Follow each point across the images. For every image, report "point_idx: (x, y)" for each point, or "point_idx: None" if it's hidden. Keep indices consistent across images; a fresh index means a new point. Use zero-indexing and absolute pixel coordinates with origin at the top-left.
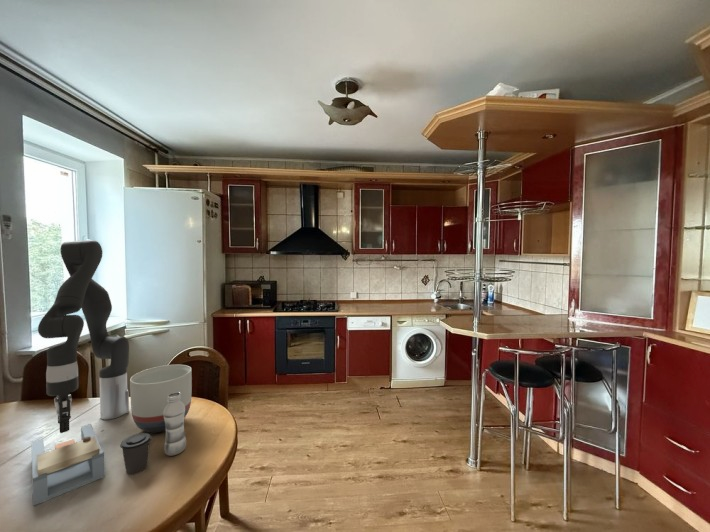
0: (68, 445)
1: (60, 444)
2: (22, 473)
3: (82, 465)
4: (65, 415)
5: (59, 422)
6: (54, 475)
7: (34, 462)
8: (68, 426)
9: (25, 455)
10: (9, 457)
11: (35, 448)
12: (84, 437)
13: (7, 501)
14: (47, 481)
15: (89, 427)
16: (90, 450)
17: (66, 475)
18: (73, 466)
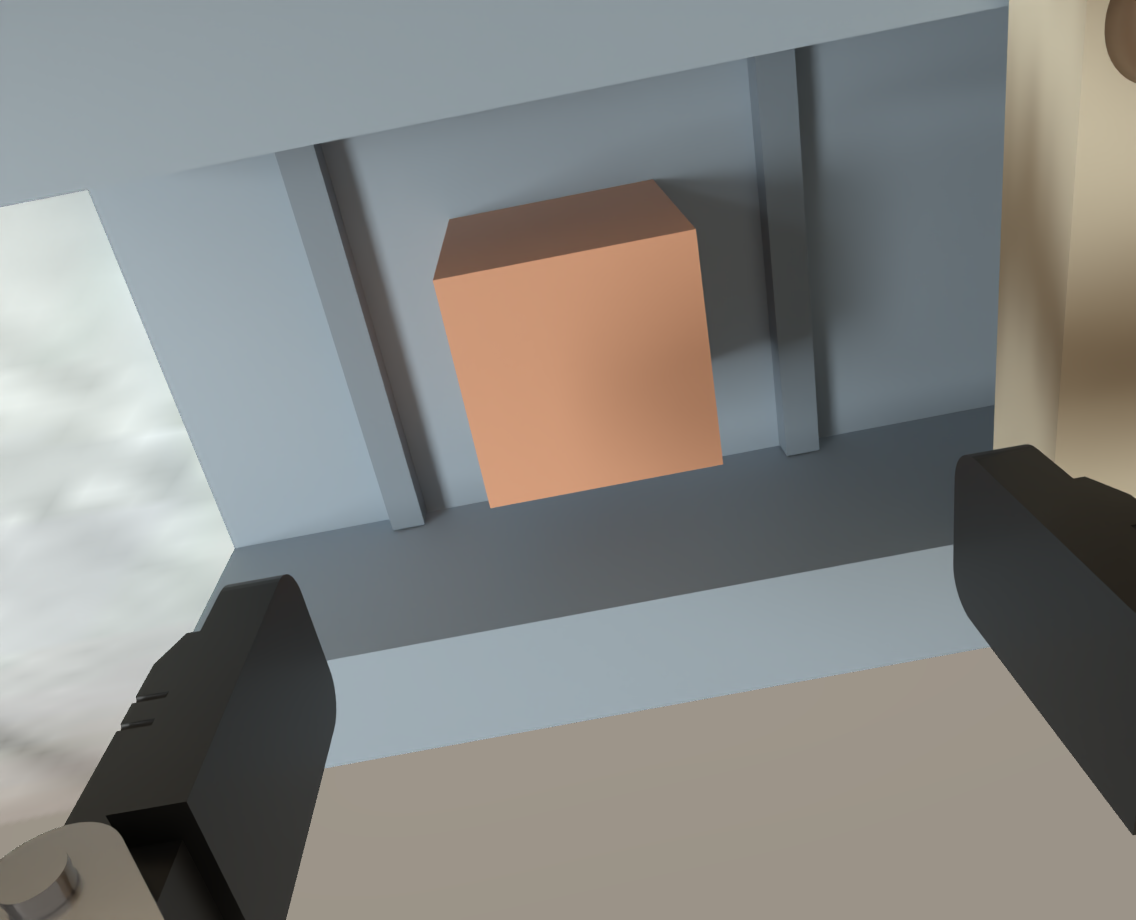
0: (1093, 331)
1: (524, 442)
2: None
3: (901, 74)
4: (248, 703)
5: (1112, 796)
6: (897, 356)
7: (938, 638)
8: (1077, 505)
9: (95, 687)
10: (66, 793)
11: (480, 706)
12: (519, 102)
13: None
14: (978, 400)
15: (55, 45)
16: None
17: None
18: (839, 183)
